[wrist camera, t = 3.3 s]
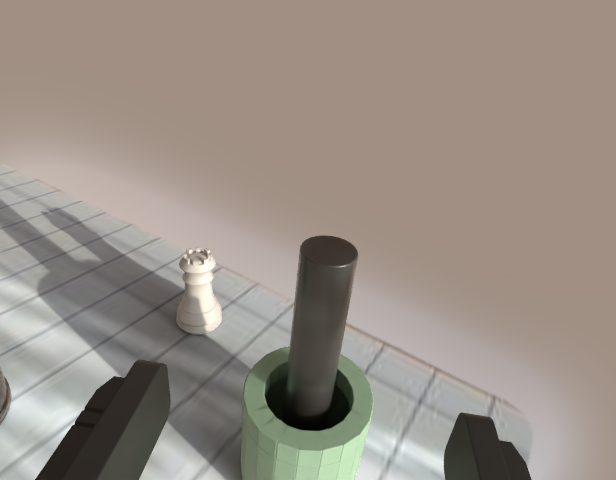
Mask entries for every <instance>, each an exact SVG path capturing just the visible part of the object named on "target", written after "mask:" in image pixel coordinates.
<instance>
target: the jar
mask: <svg viewBox="0 0 616 480" xmlns="http://www.w3.org/2000/svg"><path fill="white" fill-rule="evenodd" d="M289 350H290V347H284V348H280V349H278V350H276V351H273V352H271V353H269V354H267V355H266V356H264V357H263V358H262V359H261V360H260V361H258V362H257V363H256V364H255V365H254V367H253V368H252V369H251V371H250V373H249V375H248V376H247V378H246V380H245V385H244V392H243V410H242V411H243V412H242V440H241V476H242V480H355V478H356V474H357V471H358V467H359V463H360V459H361V455H362V451H363V448H364V444H365V440H366V436H367V432H368V428H369V424H370V421H371V416H372V411H373V407H374V400H373V394H372V389H371V386H370V384H369V382H368V380H367V379H366V377H365V375H364V373H363V372H362V371H361V370H360V369H359V368H358V367H357V366H356V365H355V364H354V363H353V362H352V361H351V360H350V359H348V358H346V357H344V356H343V355H341V354H340V358H339V363H338V368H337V374H336V379H335V385H334V390H333V395H332V401H331V406H330V412H329V417H328V423H327V428H326V429H325V430H321V431H308V430H299V429H296V428H293V427H290V426H288V425H286V424H285V423H283V422H282V417H283V408H284V398H285V389H286V379H287V369H288V360H289Z"/></svg>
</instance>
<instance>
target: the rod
mask: <svg viewBox="0 0 616 480" xmlns="http://www.w3.org/2000/svg"><path fill="white" fill-rule="evenodd" d="M357 260H358V251H357V249H356V248H355V247H354V246H353V245H352V244H351V243H350V242H348V241H346V240H344V239H341V238H338V237H334V236H315V237H311V238H309V239H307V240H305V241H304V242H303V243H302V245H301V246H300V254H299V263H298V273H297V283H296V292H295V302H294V312H293V321H292V331H291V340H290V350H289V360H288V369H287V379H286V389H285V398H284V408H283V417H282V422H283V423H285V424H286V425H288V426H290V427H293V428H296V429H299V430H308V431H321V430H325V429H326V428H327V423H328V417H329V412H330V406H331V401H332V395H333V390H334V385H335V379H336V374H337V368H338V363H339V358H340V352H341V347H342V341H343V336H344V331H345V325H346V320H347V314H348V309H349V303H350V297H351V293H352V286H353V282H354V276H355V270H356V266H357Z"/></svg>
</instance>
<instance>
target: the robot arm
mask: <svg viewBox="0 0 616 480" xmlns="http://www.w3.org/2000/svg"><path fill="white" fill-rule="evenodd" d="M10 404H11V391H10V387H9V385H8V382H7V380H6V378H5V377H4V376H3V373H2V370H1V367H0V424H1V423H2V421H3V420H4V418H5V417H6V415H7V413H8V410H9V407H10ZM169 409H170V391H169V381H168V370H167V365H166V364H164V363H157V362H151V361H145V360H137V361H136V362H135V363H134V365H133V366H132V368H131V369H130V371H129V372H128V374H127V375H126V377H125V378H122V377H116V376H114V377H113V378H111V379H110V380H109V381H108V382H106V383H105V384H104V385H102V386H101V387H100V388H99V389H97V390H96V392H95V393H94V395H93V396H92V398H91V399H90V400H89V402H88V403H87V405H86V406H85V410H84V411H82V412H81V414H80V415H79V417H78V418H77V419H76V421H75V424H74V425H72V427H71V428H70V430H69V431H68V433H67V434H66V436H65V437H64V438H63V440H62V441H61V443H60V444H59V446H58V447H57V449H56V450H55V452H54V453H53V455H52V456H51V457H50V459H49V460H48V462H47V463H46V465H45V466H44V468H43V469H42V471H41V472H40V474H39V475H38V476H37V478H36V479H35V480H139V478H140V476H141V474H142V472H143V470H144V467H145V465H146V463H147V461H148V459H149V457H150V455H151V453H152V451H153V448H154V446H155V444H156V442H157V440H158V438H159V436H160V434H161V431H162V429H163V427H164V425H165V423H166V420H167V417H168V414H169ZM444 473H445V480H531V477H530V474H529V471H528V468H527V465H526V462H525V461H524V460H523V458H522V457H521V455H520V454H519V453H518V451H517V450H516V448H515V447H514V446H513V444H512V443H511V442H505V441H499V439H498V435H497V432H496V428H495V425H494V422H493V420H492V419H491V418H490V417H486V416H480V415H474V414H468V413H460V414H459V416H458V418H457V420H456V423H455V425H454V428H453V430H452V433H451V435H450V438H449V441H448V443H447V446H446V449H445V454H444Z"/></svg>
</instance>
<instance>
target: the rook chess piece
mask: <svg viewBox="0 0 616 480" xmlns="http://www.w3.org/2000/svg"><path fill="white" fill-rule="evenodd" d="M215 263H216V261H215V260H214V258H213V257H212V256H211V253H210V250H208V249H207V248H206V249H205V250H204V252H203V251H201V247H196V251H194V252H192V249H191V248H189V249H187V250H186V253H183V258H182V259H181V260H180V263H179V266H180V268H181V269H182V270H183V271H184V272H185V273H184V274H183V277H182V278H183V280H184V282H185V292H184V297H183V298H182V300H181V303H180V304H179V305H178V308H177V313H176V314H177V319H176V322H177V324H178V326H179V327H180V328H181V329H183V330H184V331H185V332H187V333H190V334H205V333H209V332H211V331H212V330H214V329H215V328H216V327H217V326H218V325H219V324H220V322H221V321H222V314H221V306H220V304H219V302H218V300H217V299H216V297H215V296H214V295H213V290H212V285H211V280H212V279H213V273H212V272H211V269H212V268H213V267H214V266H215Z"/></svg>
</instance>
